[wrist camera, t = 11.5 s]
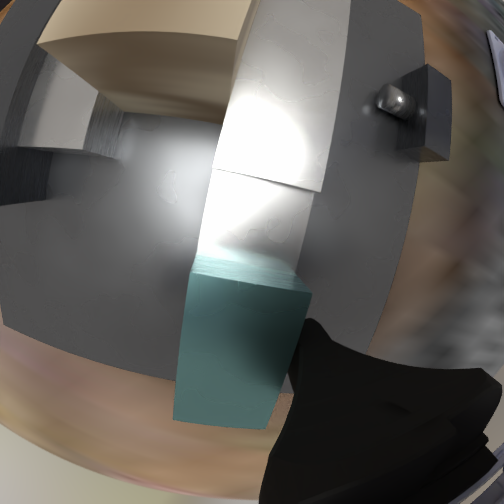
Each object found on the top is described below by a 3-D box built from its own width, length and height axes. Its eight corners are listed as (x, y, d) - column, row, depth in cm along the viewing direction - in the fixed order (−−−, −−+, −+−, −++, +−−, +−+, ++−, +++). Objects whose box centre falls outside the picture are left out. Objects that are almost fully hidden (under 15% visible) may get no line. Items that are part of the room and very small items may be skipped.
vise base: (418, 17, 9) (455, -7, 5) (344, 389, 13) (374, 437, 9) (102, -44, 6) (85, -78, 2) (6, 322, 10) (-32, 354, 6)
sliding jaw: (332, -1, 8) (364, -44, 4) (252, 367, 11) (265, 429, 8) (270, -20, 7) (287, -70, 4) (183, 357, 11) (172, 419, 7)
